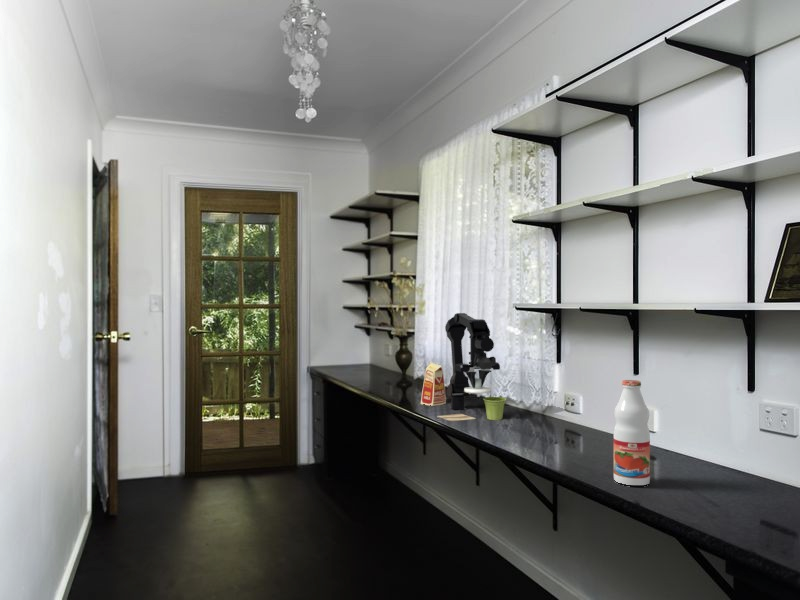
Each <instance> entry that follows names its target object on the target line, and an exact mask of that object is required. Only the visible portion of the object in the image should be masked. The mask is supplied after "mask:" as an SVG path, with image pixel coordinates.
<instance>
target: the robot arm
mask: <svg viewBox="0 0 800 600" xmlns="http://www.w3.org/2000/svg"><path fill="white" fill-rule="evenodd" d="M444 327H445V333H446V337H447V338H448V340H449V341H450V347H451V364H452V376H451V377H450V379H449V384H448V387H447V390H446V396H447V397H450V407H448V409H450V410H453V411H463V410H467V408H466V407H465V405H466V403H465V397H469V394H470V393H466V392H464V388H466V387H473V388H475V379H476V374H477V371H475V370H478V378H479V379H481V387H484V384H485V380H486V378H487V376H488V375H489V374H490V373H492V370H493V371H494V370H495V371H497V370H498V371H499V370H501V365H500V363H499V362H497V359H496V356H490V357H487V353H489V352H491V351H492V350H493V349H494V346H495V342H494V340H493V339H492V338H491V337H490V336H491V330H490V328H489V326H488V322H486V320H485V319H480V318H473V316H470V315H468V314H467V313H465V312H460V313H458V312H457V313H455V314H454V315H453V317H451V318H449V319H448V320H447V322H446V323H445V326H444ZM466 330H467V332H468V333H469V337H468V338H469V343H470V346H469V348H470V349H469V350H470V351H468V355H469V357H470V361H468V363H464V358H463V345H462V340H463V339H464V337H465V335H466V334H465V331H466ZM491 369H492V370H491ZM469 382H470V384H471V386H470V384H469Z"/></svg>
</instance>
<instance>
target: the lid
mask: <svg viewBox="0 0 800 600" xmlns="http://www.w3.org/2000/svg"><path fill="white" fill-rule="evenodd" d="M464 392H466V393H469V394H481V395H482V394H490V393H491V392H492V388H491V387H485V386H483V387H481V379H479V377H477V378H476V377H475V388H473V387H472V386H470V387H466V388H464Z"/></svg>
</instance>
